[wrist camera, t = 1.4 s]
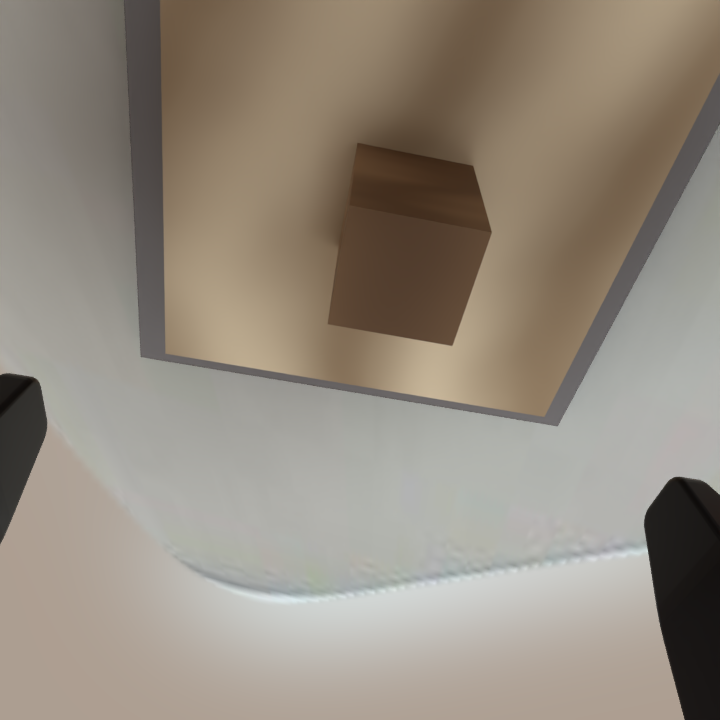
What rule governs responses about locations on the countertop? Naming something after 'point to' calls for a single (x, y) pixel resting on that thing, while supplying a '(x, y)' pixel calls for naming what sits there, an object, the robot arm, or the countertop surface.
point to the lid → (416, 181)
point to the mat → (151, 303)
